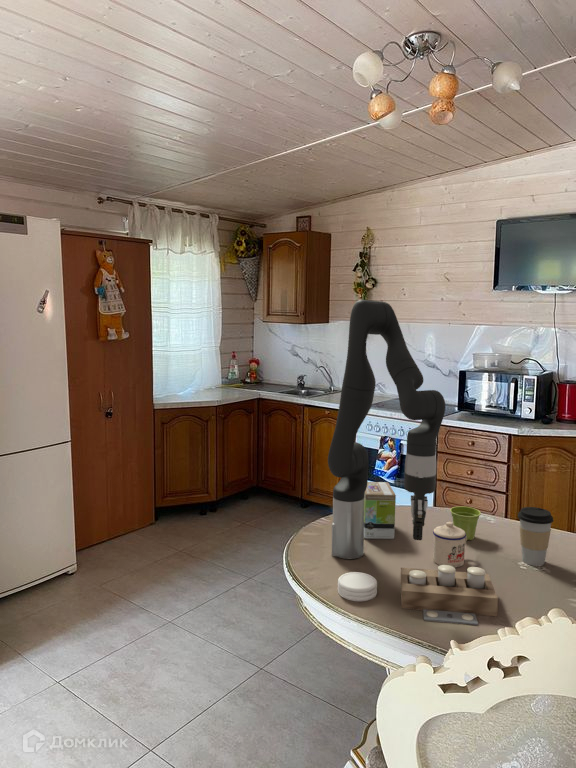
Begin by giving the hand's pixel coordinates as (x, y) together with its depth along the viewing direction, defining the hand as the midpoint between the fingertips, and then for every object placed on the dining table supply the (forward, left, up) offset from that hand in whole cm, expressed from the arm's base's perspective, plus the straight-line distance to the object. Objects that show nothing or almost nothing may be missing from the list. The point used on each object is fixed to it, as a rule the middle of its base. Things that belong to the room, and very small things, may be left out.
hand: (417, 539), depth 140 cm
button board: (+7, 0, -15) cm, 17 cm away
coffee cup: (+34, +27, -15) cm, 46 cm away
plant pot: (+17, +43, -15) cm, 49 cm away
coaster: (-15, 0, -16) cm, 21 cm away
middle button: (+7, 0, -11) cm, 13 cm away
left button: (0, 0, -13) cm, 13 cm away
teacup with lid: (+11, +24, -15) cm, 31 cm away
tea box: (-11, +44, -15) cm, 48 cm away
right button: (+14, 0, -11) cm, 18 cm away
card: (+7, -9, -15) cm, 19 cm away
